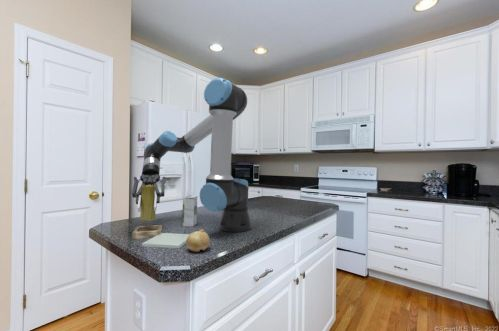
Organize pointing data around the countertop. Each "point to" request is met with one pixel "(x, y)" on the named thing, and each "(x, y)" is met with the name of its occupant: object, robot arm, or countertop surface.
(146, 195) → the vase
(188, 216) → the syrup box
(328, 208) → the countertop surface
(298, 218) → the countertop surface
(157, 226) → the collar
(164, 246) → the tile
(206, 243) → the onion
